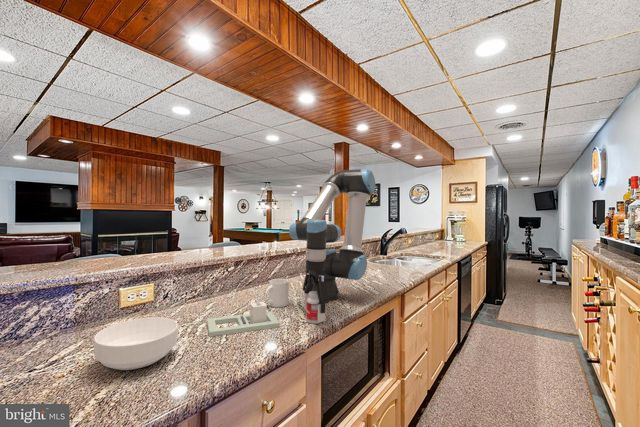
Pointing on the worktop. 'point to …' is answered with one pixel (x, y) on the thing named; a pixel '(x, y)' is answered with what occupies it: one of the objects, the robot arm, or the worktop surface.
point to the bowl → (135, 342)
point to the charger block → (258, 312)
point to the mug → (278, 292)
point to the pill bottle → (312, 308)
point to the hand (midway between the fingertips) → (314, 315)
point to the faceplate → (242, 323)
